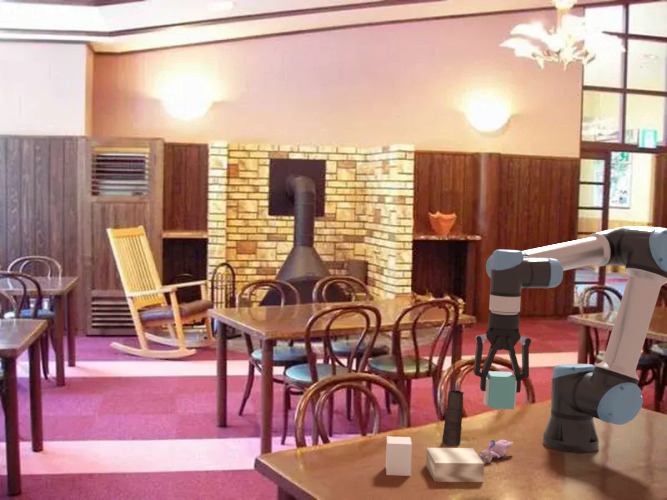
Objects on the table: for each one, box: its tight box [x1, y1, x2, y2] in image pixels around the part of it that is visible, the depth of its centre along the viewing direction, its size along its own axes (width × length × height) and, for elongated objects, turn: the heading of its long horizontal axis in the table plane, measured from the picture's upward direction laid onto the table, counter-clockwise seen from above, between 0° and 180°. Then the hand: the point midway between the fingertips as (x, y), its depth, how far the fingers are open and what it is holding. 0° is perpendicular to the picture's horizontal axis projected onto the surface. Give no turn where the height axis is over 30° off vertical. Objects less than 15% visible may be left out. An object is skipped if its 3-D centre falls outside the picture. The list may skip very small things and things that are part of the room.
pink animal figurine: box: [477, 438, 514, 466], centre depth 222 cm, size 6×6×15 cm
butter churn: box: [441, 343, 465, 446], centre depth 233 cm, size 9×10×28 cm
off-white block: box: [385, 435, 413, 477], centre depth 209 cm, size 6×6×8 cm
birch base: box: [425, 447, 485, 483], centre depth 209 cm, size 12×12×5 cm
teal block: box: [486, 370, 516, 410], centre depth 207 cm, size 6×6×8 cm
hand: (499, 404), depth 207 cm, fingers closed on teal block, 6 cm apart
